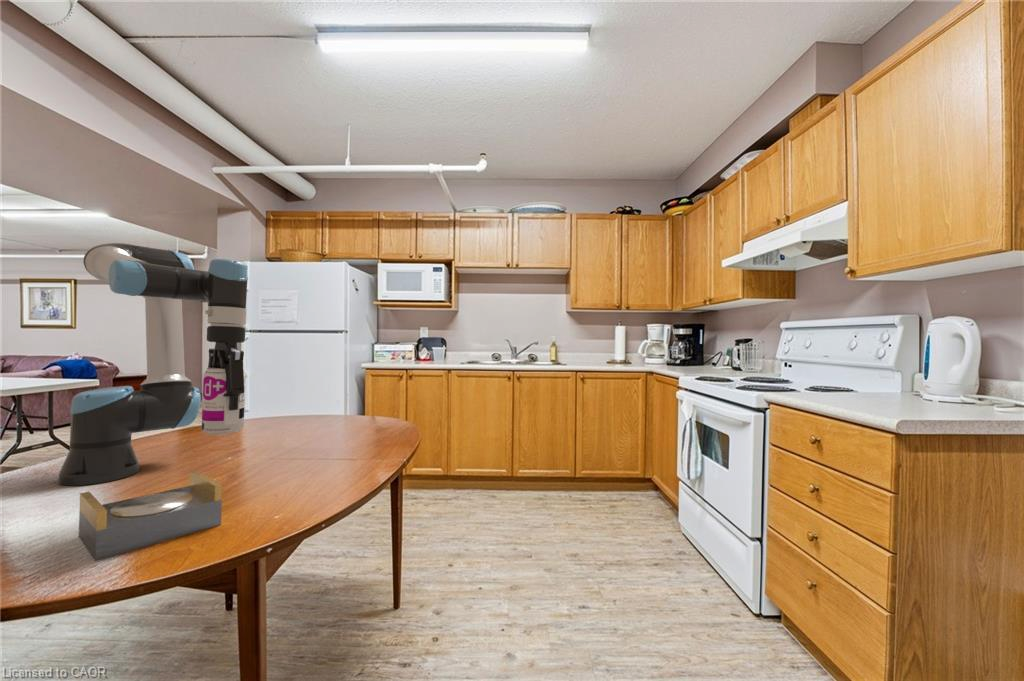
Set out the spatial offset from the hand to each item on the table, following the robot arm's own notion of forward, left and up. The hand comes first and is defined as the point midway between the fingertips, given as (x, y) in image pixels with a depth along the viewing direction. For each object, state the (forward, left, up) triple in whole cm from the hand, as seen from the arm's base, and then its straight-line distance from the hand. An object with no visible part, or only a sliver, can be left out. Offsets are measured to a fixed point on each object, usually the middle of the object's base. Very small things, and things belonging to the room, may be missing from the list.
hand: (223, 421), depth 98 cm
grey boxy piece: (+10, -15, -18) cm, 25 cm away
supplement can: (0, 0, -3) cm, 3 cm away
